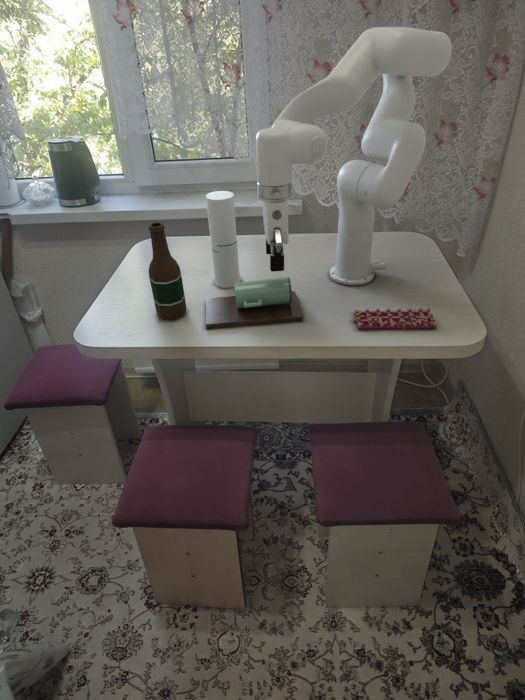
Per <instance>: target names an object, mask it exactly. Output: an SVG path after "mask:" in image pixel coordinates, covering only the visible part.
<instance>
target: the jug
mask: <svg viewBox="0 0 525 700" xmlns="http://www.w3.org/2000/svg"><path fill="white" fill-rule="evenodd" d="M233 288H234V294H235V295H234V296H236V304H237V309H241V308H250V307H259V306H268V305H278V304H287V303H292V291H293V288H292V282H291V278H290V277H289V276H286V277H285V276H283V277H275V278H267V279H257V280H249V281H240V282H238V283H234V287H233Z"/></svg>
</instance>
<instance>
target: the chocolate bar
mask: <svg viewBox="0 0 525 700" xmlns="http://www.w3.org/2000/svg"><path fill="white" fill-rule="evenodd" d="M352 321H353V323H354V324H356V327H357V330H358V331H409V330H410V331H417V330H419V331H421V330H422V331H423V330H424V331H425V330H430V331H431V330H437V322H436V318H435V317H434V313H431V308H430V307H427V308H426V309H425V310H424V309H423V308H422V307H419V308H418V309H417V310H413V309H412V307H410V308H407V309H406V310H402V309H401V308H397V309H396V310H391V308H386V310H380V308H375V310H370V309H369V308H365V310H359V309H354V318H353V319H352Z"/></svg>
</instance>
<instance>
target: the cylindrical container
mask: <svg viewBox="0 0 525 700" xmlns="http://www.w3.org/2000/svg"><path fill="white" fill-rule="evenodd" d="M234 196H235V195H234V192H232V191H228V190H216V191H211V192H208V193H207V194H206V195H205V202H206V210H207V221H208V230H209V239H210V249H211V258H212V266H213V276H214V283H215V285H216V286H217V287H218V288H222V289H231V288H235V287H234V283H238V282H241V280H240V264H239V252H238V251H239V250H238V240H237V239H238V236H237V235H238V234H237V222H236V210H235V207H236V206H235V197H234Z"/></svg>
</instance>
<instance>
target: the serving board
mask: <svg viewBox="0 0 525 700" xmlns="http://www.w3.org/2000/svg"><path fill="white" fill-rule="evenodd" d="M303 316H304V315H303V312H302V310H301V306H300V303H299V300H298V297H297V294H296V291H295V290H292V303H287V304H278V305H268V306H259V307H250V308H241V309H237V304H236V296H235V295H231V296H229V295H227V296H216V297H206V298H205V329H206V330H215V329H228V328H229V329H230V328H239V327H240V328H241V327H254V326H264V325H276V324H288V323H301V322H304V321H303V320H304V317H303Z"/></svg>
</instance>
